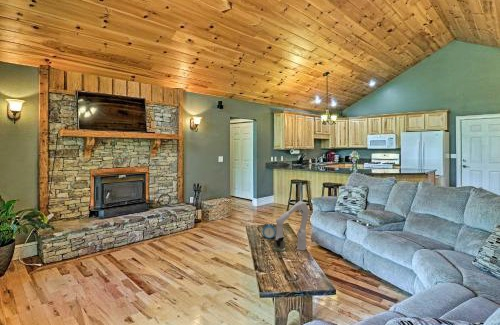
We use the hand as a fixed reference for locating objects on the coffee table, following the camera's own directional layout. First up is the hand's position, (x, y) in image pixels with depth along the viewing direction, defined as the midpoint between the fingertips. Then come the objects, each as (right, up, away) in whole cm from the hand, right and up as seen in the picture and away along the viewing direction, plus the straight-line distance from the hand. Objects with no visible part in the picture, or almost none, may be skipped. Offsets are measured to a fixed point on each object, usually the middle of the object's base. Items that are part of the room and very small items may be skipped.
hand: (279, 245), depth 262 cm
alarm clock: (-7, -2, +35) cm, 36 cm away
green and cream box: (0, -4, 0) cm, 4 cm away
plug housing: (-2, -1, +1) cm, 2 cm away
